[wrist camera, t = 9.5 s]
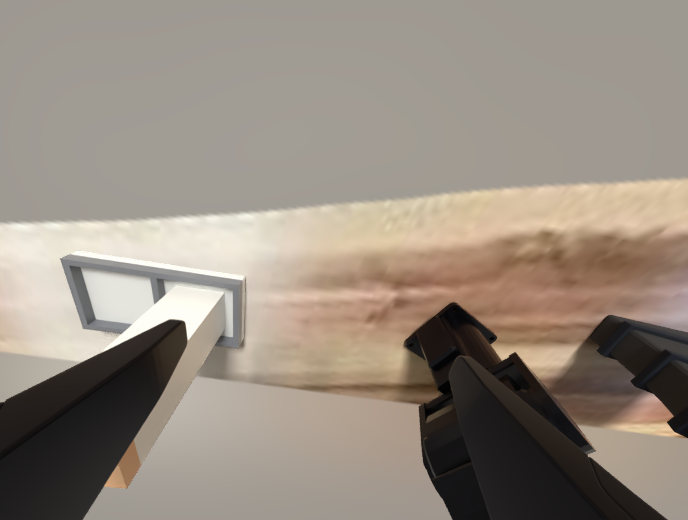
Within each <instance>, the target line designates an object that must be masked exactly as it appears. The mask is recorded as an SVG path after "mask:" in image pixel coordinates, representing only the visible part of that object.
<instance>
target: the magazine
mask: <svg viewBox="0 0 688 520" xmlns="http://www.w3.org/2000/svg"><path fill="white" fill-rule="evenodd" d="M591 339H592V340H593V341H595V342H596V343H597V344H598V345H600V347H599V348H598V349H597V352H599V353H600V354H601V355H602V356H605V357H609V358H612V359H616V360H618V361H619V362H620V363H621V364H622V365H624V366H625V367H626V368H627V369H628V370H629V371H630V372H631V373H632V374H633V375H635V376H636V377H634V378H633V379H632V380H631V383H632V384H633V385H634V386H635V387H637V388H640V389H642V390H645V391H647V392H650V393H652V394H654V395H655V396H656V397H657V398H658V399H659V400H660V401H661V402H662V403H663V404H664V405H665V406H666V407H667V409H668V410H669V411H670V412H671V413H672V414H673V416H674V417H673V418H671V419H670V420H669V421H668V422H667V423H668V424H669V426H670V427H671V428H672V429H673V431H674V432H676V433H678V434H680V435H682V436H685V437H687V438H688V333H687V332H683V331H678V330H674V329H669V328H665V327H661V326H656V325H652V324H648V323H643V322H639V321H635V320H630V319H626V318H622V317H617V316H613V315H609V316H608V317H607V318H606V319H605V320H604V321H603V322H602V323H601V324H600V326H599V327H598V328H597V329H596V330H595V331H594V332H593V334H592V335H591Z"/></svg>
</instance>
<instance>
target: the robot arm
mask: <svg viewBox="0 0 688 520" xmlns="http://www.w3.org/2000/svg"><path fill="white" fill-rule="evenodd" d="M454 307H456V308H455V309H453V308H454ZM496 339H497V337H496V335H495V334H494V333H493V332H492V331H491V330H490V329H488V328H487V327H486V326H485V325H483V324H482V323H481V322H480V321H478V320H477V319H476V318H475V317H473V316H472V315H471V314H470V313H469V312H467V311H466V310H465V309H464V308H462V307H461V306H460V305H459V304H457V303H454V302H453V303H451V304H449V305H448V306H447V307H445V308H444V309H443V310H442V311H441V312H439V313H438V314H437V315H436V316H435V317H433V318H432V319H431V320H430V321H429V322H427V323H426V324H425V325H424V326H422V327H421V328H420V329H419V330H418V331H416V332H415V333H414V334H413V335H412V336H410V337H409V338H408V339H407V340H406V341H405V344H406V347H407V348H408V349H410V350H411V351H412V352H414V353H415V354H417V355H418V356H420V357H421V358H423V359H424V360H426V362H427V364H428V366H429V368H430V371H431V374H432V376H433V379H434V382H435V384H436V387H437V389H438V392H439V395H440V396H439V397H437V398H435V399H434V400H432V401H430V402H428V403H426V404H425V403H424V404H422V405H420V406H419V417H420V431H421V445H422V455H423V463H424V466H425V468H426V470H427V472H428V475H429V477H430V479H431V481H432V483H433V485H434V487H435V489H436V490H437V492H438V493H439V495H440V496H441V498H442V499H443V501H444V503H445V504H446V507H447V509H448V511H449V513H450V515H451V517H452V519H453V520H667V519H666V518H665V517H664V516H662V515H661V514H660V513H658V512H657V511H656V510H655V509H653V508H652V507H651V506H650V505H648V504H647V503H646V502H644V501H643V500H642V499H641V498H639V497H638V496H637V495H635V494H634V493H633V492H632V491H631V490H629V489H628V488H627V487H626V486H624V485H623V484H622V483H621V482H620V481H618V480H617V479H616V478H615V477H614V476H612V475H611V474H610V473H609V472H607V471H606V470H605V469H604V468H603V467H602V466H600V465H599V464H598V463H597V462H596V461H594V460H593V459H592V458H591V457H588V454H590V453H593V452H595V451H596V450H595V449H594V447H593V446H592V445H591V443H590V442H589V441H588V439H587V438H586V437H585V435H584V434H583V433H582V431H581V430H580V429H579V427H578V426H577V425H576V423H575V422H574V421H573V419H572V418H571V417H570V415H569V414H568V413H567V412H566V410H565V409H564V408H563V407H562V406H561V404H560V403H559V402H558V401H557V400H556V398H555V397H554V396H553V395H552V394H551V392H550V391H549V390H548V389H547V388H546V386H545V385H544V384H543V383H542V382H541V381H540V379H539V378H538V377H537V376H536V375H535V374H534V373H533V372H532V370H531V369H530V368H529V367H528V366H527V365H526V364H525V363H524V361H523V360H522V359H521V358H520V357H519V356H518V355H517V354H516V352H515V353H513V354H511V355H509V358H507V359H505V360H503V361H502V360H501V359H500V357H499V356H498V355H497V353H496V352H495V350H494V349H493V348H492V346H491V345H490V344H492V343H493V342H494V341H496ZM187 342H188V338H187V330H186V323H185V322H184V321H183V320H176V319H169V320H167V321H165V322H163V323H161V324H159V325H156V326H154V327H152V328H150V329H148V330H146V331H144V332H142V333H140V334H138V335H136V336H134V337H132V338H130V339H128V340H126V341H124V342H122V343H120V344H118V345H116V346H114V347H112V348H110V349H108V350H106V351H104V352H102V353H100V354H98V355H96V356H94V357H92V358H90V359H88V360H86V361H84V362H82V363H80V364H77V365H75V366H73V367H71V368H70V369H67V370H65V371H64V372H61V373H59V374H57V375H55V376H53V377H51V378H49V379H47V380H46V381H43V382H41V383H39V384H37V385H35V386H33V387H31V388H29V389H27V390H25V391H23V392H21V393H19V394H17V395H15V396H13V397H11V398H9V399H7V400H6V401H5V402H0V520H83V518H84V517H85V515H86V514H87V512H88V511H89V509H90V507H91V505H92V504H93V502H94V501H95V499H96V498H97V496H98V495H99V493H100V492H101V490H102V489H103V487H104V485H105V484H106V482H107V481H108V479H109V478H110V476H111V474H112V473H113V471H114V470H115V468H116V467H117V465H118V463H119V462H120V460H121V459H122V457H123V456H124V454H125V452H126V451H127V449H128V448H129V446H130V445H131V443H132V441H133V440H134V438H135V437H136V435H137V434H138V432H139V431H140V429H141V427H142V426H143V424H144V423H145V421H146V420H147V418H148V416H149V415H150V413H151V412H152V410H153V409H154V407H155V405H156V404H157V402H158V401H159V399H160V397H161V396H162V394H163V392H164V390H165V388H166V386H167V384H168V382H169V380H170V378H171V376H172V374H173V372H174V370H175V368H176V366H177V364H178V363H179V361H180V359H181V357H182V355H183V353H184V351H185V349H186V346H187ZM410 343H412V344H410Z"/></svg>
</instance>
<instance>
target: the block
mask: <svg viewBox="0 0 688 520" xmlns="http://www.w3.org/2000/svg"><path fill="white" fill-rule="evenodd" d="M169 319H176V320H183V321H184V322H185V323H186V330H187V338H188V342H187V346H186V349H185V351H184V353H183V355H182V357H181V359H180V361H179V363H178V364H177V366H176V368H175V370H174V372H173V374H172V376H171V378H170V380H169V382H168V384H167V386H166V388H165V390H164V392H163V394H162V396H161V397H160V399H159V401H158V402H157V404H156V405H155V407H154V409H153V410H152V412H151V413H150V415H149V416H148V418H147V420H146V421H145V423H144V424H143V426H142V427H141V429H140V431H139V432H138V434H137V435H136V437H135V438H134V440H133V441H132V443H131V445H130V446H129V448H128V449H127V451H126V452H125V454H124V456H123V457H122V459H121V460H120V462H119V463H118V465H117V467H116V468H115V470H114V471H113V473H112V474H111V476H110V478H109V479H108V481H107V482H106V484H105V485H104V487H114V488H128V486H129V484H130V483H131V481H132V479H133V478H134V476H135V475H136V473H137V471H138V470H139V468H140V466H141V465H142V463H143V461H144V460H145V458H146V457H147V455H148V453H149V452H150V450H151V448H152V447H153V445H154V443H155V442H156V440H157V438H158V437H159V435H160V433H161V432H162V430H163V429H164V427H165V425H166V424H167V422H168V421H169V419H170V417H171V415H172V414H173V412H174V411H175V409H176V407H177V406H178V404H179V403H180V401H181V399H182V398H183V396H184V394H185V393H186V391H187V389H188V388H189V386H190V385H191V383H192V381H193V380H194V378H195V376H196V375H197V373H198V371H199V370H200V368H201V367H202V365H203V363H204V362H205V360H206V358H207V357H208V355H209V354H210V352H211V350H212V349H213V347H214V345H215V344H216V342H217V340H218V339H219V337H220V336H221V334H222V332H223V331H224V329H225V296H224V292H218V291H212V290H205V289H198V288H192V287H185V286H178V285H176V286H175V287H174V288H173V289H171V290H170V291H169V292H168V293H167V294H166V295H165V296H164V297H162V298H161V299H160V300H159V301H158V302H157V303H156V304H155V305H154V306H152V307H151V308H150V309H149V310H148V311H147V312H146V313H145V314H143V315H142V316H141V317H140V318H139V319H138V320H137V321H136V322H134V323H133V324H132V325H131V326H130V327H129V328H128V329H127V330H126V331H124V332H123V333H122V334H121V335H120V336H119V337H118V338H117V339H115V340H114V341H113V342H112V343H111V344H110V345H109V346H108V347H107V348H105V349H104V350H103V351H102V352H104V351H106V350H108V349H110V348H112V347H114V346H116V345H118V344H120V343H122V342H124V341H126V340H128V339H130V338H132V337H134V336H136V335H138V334H140V333H142V332H144V331H146V330H148V329H150V328H152V327H154V326H156V325H159V324H161V323H163V322H165V321H167V320H169ZM102 352H101V353H102Z"/></svg>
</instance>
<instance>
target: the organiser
mask: <svg viewBox="0 0 688 520" xmlns="http://www.w3.org/2000/svg"><path fill="white" fill-rule="evenodd" d="M60 260H61V263H62V266H63V269H64V272H65V275H66V278H67V281H68V284H69V287H70V290H71V293H72V296H73V299H74V302H75V305H76V308H77V311H78V314H79V317H80V320H81V323H82V326H83V329H89V330H97V331H105V332H113V333H120V334H122V333H123V332H124V331H126V330H127V329H128V328H129V327H130V326H131V325H132V324H133V323H134V322H136V321H137V320H138V319H139V318H140V317H141V316H142V315H143V314H145V313H146V312H147V311H148V310H149V309H150V308H151V307H152V306H154V305H155V304H156V303H157V302H158V301H159V300H160V299H161V298H162V297H164V296H165V295H166V294H167V293H168V292H169V291H170V290H171V289H173V288H174V287H175V286H176V285H178V286H185V287H192V288H198V289H205V290H212V291H218V292H224V296H225V329H224V331H223V332H222V334H221V336H220V337H219V339H218V340H217V342H216V344H215V345H214V346H222V347H230V348H238V349H239V346H240V344H241V342H242V340H243V338H244V314H245V276H240V275H234V274H227V273H221V272H214V271H208V270H201V269H195V268H188V267H181V266H175V265H168V264H162V263H155V262H149V261H142V260H136V259H129V258H123V257H116V256H109V255H103V254H96V253H90V252H83V251H77V252H74V253H72V254H70V255H67V256H65V257H63V258H60Z"/></svg>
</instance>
